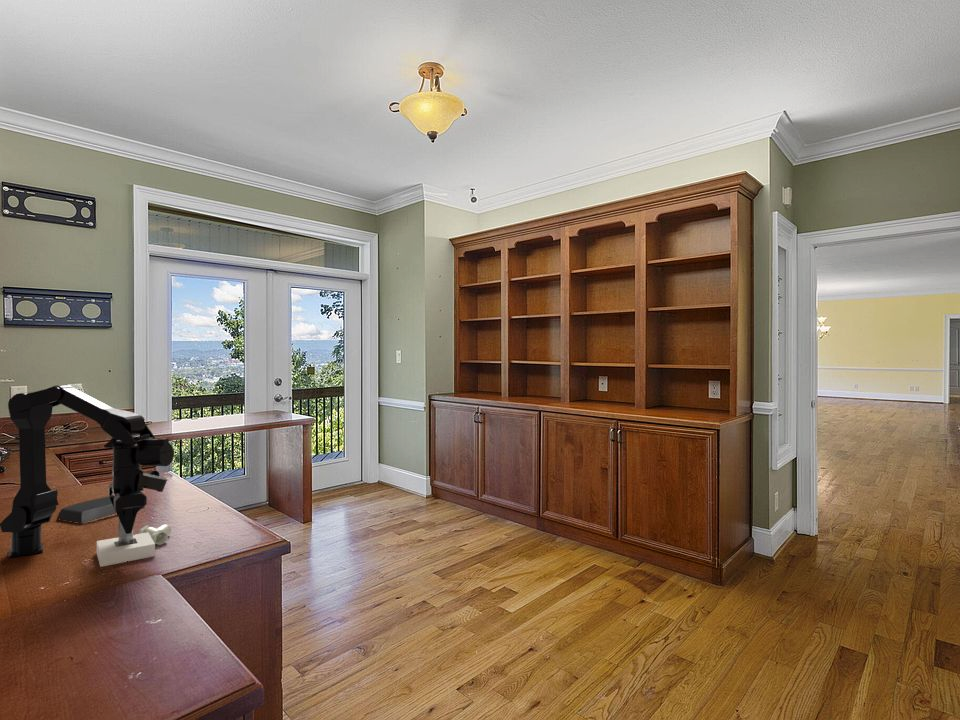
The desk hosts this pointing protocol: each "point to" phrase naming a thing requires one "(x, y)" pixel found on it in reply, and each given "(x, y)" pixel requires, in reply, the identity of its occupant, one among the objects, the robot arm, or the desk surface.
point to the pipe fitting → (157, 533)
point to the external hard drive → (87, 510)
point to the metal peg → (124, 536)
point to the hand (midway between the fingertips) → (126, 528)
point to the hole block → (125, 550)
